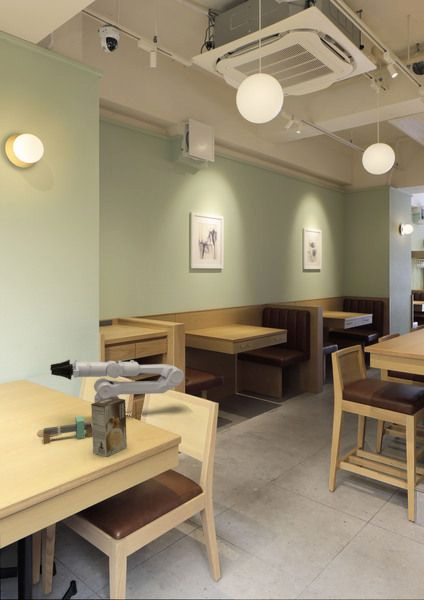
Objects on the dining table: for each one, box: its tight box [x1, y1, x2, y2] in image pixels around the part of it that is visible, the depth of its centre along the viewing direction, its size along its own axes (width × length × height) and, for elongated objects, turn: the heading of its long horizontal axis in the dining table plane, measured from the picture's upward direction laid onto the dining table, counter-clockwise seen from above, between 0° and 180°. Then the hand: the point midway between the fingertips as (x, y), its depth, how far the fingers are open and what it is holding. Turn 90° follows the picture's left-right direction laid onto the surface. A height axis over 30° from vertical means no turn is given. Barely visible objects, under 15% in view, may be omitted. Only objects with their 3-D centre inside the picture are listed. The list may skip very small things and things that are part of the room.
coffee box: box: [91, 397, 128, 458], centre depth 138 cm, size 9×6×16 cm
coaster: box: [36, 428, 61, 438], centre depth 155 cm, size 9×9×1 cm
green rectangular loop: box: [75, 415, 86, 440], centre depth 151 cm, size 2×6×6 cm, turn 23°
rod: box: [42, 421, 93, 445], centre depth 150 cm, size 16×5×4 cm, turn 113°
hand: (50, 369), depth 160 cm, fingers open, 7 cm apart
